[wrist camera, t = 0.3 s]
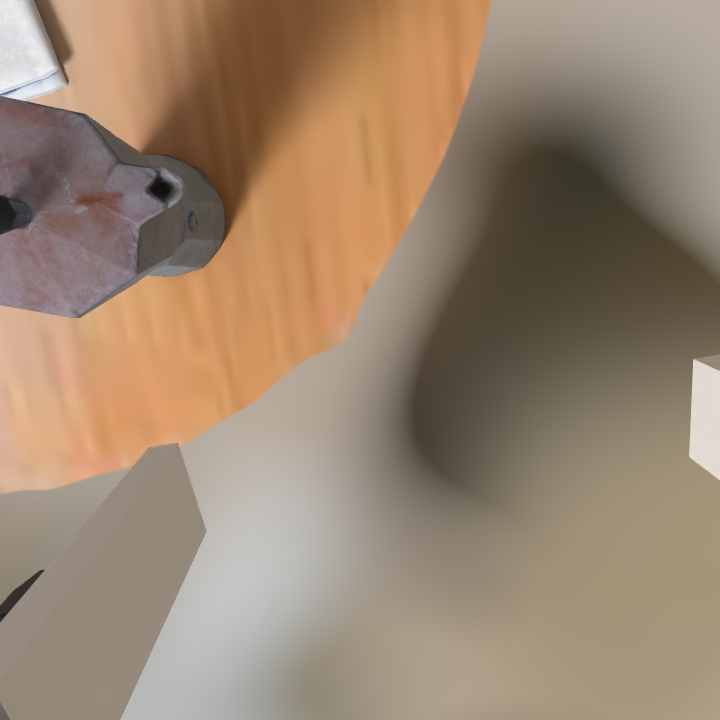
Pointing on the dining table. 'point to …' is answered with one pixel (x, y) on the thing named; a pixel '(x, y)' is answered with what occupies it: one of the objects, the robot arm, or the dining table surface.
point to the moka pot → (92, 212)
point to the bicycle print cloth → (26, 53)
